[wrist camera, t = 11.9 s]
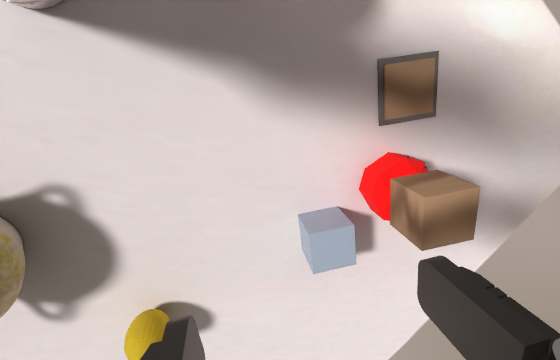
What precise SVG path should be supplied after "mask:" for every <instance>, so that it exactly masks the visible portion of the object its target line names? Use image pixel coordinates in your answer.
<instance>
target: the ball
mask: <svg viewBox="0 0 560 360" xmlns="http://www.w3.org/2000/svg"><path fill="white" fill-rule="evenodd" d="M424 172H429V171H428V169H427V167H426V166H425V165H424V162H423V161H420V160H418V159H415V158H409V156H407V155H401V154H395V153H389V152H388V153H387V154H385V155H384V156H382V157H381V158H380V159H378V160H377V161H375V162H374V163H372V164H371V165H369V166H368V167H367V168H365V170H364V173H363V177H362V180H361V183H360V187H359V190H360V192H361V194H362V195H363V197H364V199H365V200H366V202H367V204H368V205H369V207H370V209H371V210H372V211H374V212H375V213H376V214H377V215H378V216H380V217H381V218H382V219H383V220H388V221H390V191H391V179H392V178H397V177H402V176H408V175H413V174H418V173H424Z"/></svg>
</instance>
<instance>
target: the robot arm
mask: <svg viewBox="0 0 560 360" xmlns="http://www.w3.org/2000/svg"><path fill="white" fill-rule="evenodd" d="M4 1H7V2H10V3H13V4H16V5H18V6H22V7H26V8H31V9H43V8H48V7H52V6H54V5H56V4H58V3H60V2H62V1H63V0H4ZM417 295H418V300H419V303H420V305H421V307H422V309H423V311H424V312H425V313H426V314H427V316H428V317H429V318H430V319H431V320H432V321H433V322H434V324H435V325H436V326H437V327H438V328H439V329H440V330H441V332H442V333H443V334H444V335H445V336H446V337H447V338H448V339H449V340H450V341H451V343H452V344H453V345H454V346H455V347H456V349H457V350H458V351H459V352H460V353H461V354H462V355H463V357H464V358H465V359H466V360H560V334H559V333H558V332H557V331H555V330H554V329H553V328H551V327H550V326H549V325H547V324H546V323H545V322H543V321H542V320H540V319H539V318H538V317H536V316H535V315H534V314H532V313H531V312H530V311H528V310H527V309H526V308H524V307H523V306H521V305H520V304H519V303H517V302H516V301H515V300H513V299H512V298H511V297H507V295H506V294H505V293H504V292H502V291H501V290H500V289H499V288H495V287H494V285H493V284H492V283H490V282H489V281H488V280H486V279H485V278H483V277H482V276H481V275H479V274H477V273H475V272H473V271H471V270H468V269H466V268H464V267H458V266H456V265H455V264H454V263H452V262H451V261H450V260H449V259H447V258H446V257H444V256H437V257H432V258H428V259H424V260H421V261H420V262H419V265H418V290H417ZM140 360H205V353H204V349H203V345H202V342H201V339H200V336H199V333H198V330H197V326H196V323H195V320H194V318H193V316H192V315H191V316H187V317H182V318H178V319H174V320H170V321H168V322H167V323H166V326H165V330H164V334H163V337H162V341H159V342H155V343H151V344H150V346H149V347H148V349H147V350H146V352H145V353H144V354H143V356H142V357H141V359H140Z"/></svg>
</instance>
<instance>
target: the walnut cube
mask: <svg viewBox="0 0 560 360" xmlns="http://www.w3.org/2000/svg"><path fill="white" fill-rule="evenodd" d="M479 193H480V186H477V185H474V184H472V183H469V182H467V181H464V180H462V179H459V178H457V177H454V176H452V175H449V174H446V173H444V172H441V171H439V170H435V171H429V172H424V173H418V174H413V175H408V176H402V177H397V178H392V179H391V191H390V225H392V226H393V227H394V228H395V229H396V230H398V231H399V232H400V233H401V234H402V235H404V236H405V237H406V238H407V239H408V240H409V241H411V242H412V243H413V244H414V245H415V246H417V247H418V248H419V249H420V250H421V251H424V250H428V249H433V248H437V247H442V246H446V245H451V244H455V243H459V242H464V241H468V240H473V239H474V232H475V225H476V217H477V209H478V201H479Z"/></svg>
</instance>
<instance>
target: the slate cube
mask: <svg viewBox="0 0 560 360" xmlns="http://www.w3.org/2000/svg"><path fill="white" fill-rule="evenodd" d="M298 219H299V227H300V235H301V243H302V250H303V252H304V254H305V257H306V259H307V261H308V263H309V265H310V267H311V270H312V272H313V274H316V273H320V272H325V271H329V270H333V269H337V268H342V267H346V266H350V265H355V264H356V247H355V227H354V224H353V223H352V222H351V221H350V220H349V218H348V217H347V216H346V215H345V214H344V213H343V212H342V211H341V210H340V209H339V208H338V207H332V208H327V209H322V210H318V211H313V212H308V213H303V214H298Z"/></svg>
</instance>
